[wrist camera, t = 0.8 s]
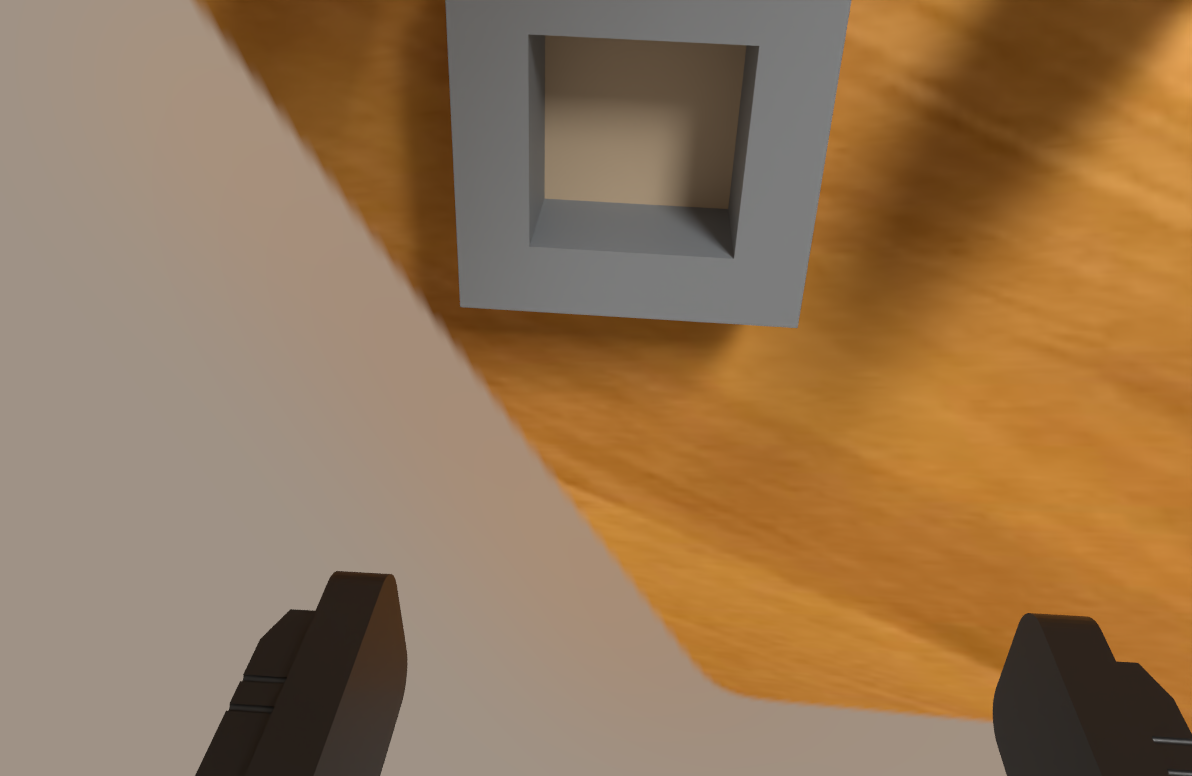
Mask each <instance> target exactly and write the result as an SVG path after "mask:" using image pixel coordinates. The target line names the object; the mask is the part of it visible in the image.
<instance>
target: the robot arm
mask: <svg viewBox="0 0 1192 776" xmlns="http://www.w3.org/2000/svg"><path fill="white" fill-rule="evenodd" d="M243 675H244V678H243V681H242V682H241V681H240V683H239V685H238V687H237V689H236V691H235V693H234V696H233V697H232V700H231V702H230V708H229V711H226V712H225V715H224V717H223V719H222V721H221V723H220V725H219V727H218V729H217V731H216V733H215V735H214V737H213V739H212V742H211V744H210V746H209V748H208V750H207V752H206V754H205V756H204V758H203V761H202V763H201V765H200V767H199V769H198V771H197V773H196V775H195V776H380V774H381V771H382V767H383V764H384V761H385V757H386V754H387V751H388V747H389V744H390V741H391V737H392V734H393V731H394V727H395V724H396V720H397V717H398V714H399V710H400V707H401V704H402V700H403V696H404V690H405V685H406V676H407V650H406V643H405V636H404V630H403V623H402V617H401V610H400V604H399V597H398V591H397V584H396V580H395V578H394V576H393V575H392V574H378V573H361V572H359V573H358V572H343V571H336V572H334V573H333V575H332V576H331V577H330V579H329V581H328V583H327V585H326V588H325V590H324V593H323V595H322V597H321V600H320V602H319V604H318V606H317V609H316V611H308V610H292V609H291V610H290V611H289V612H287V614H285V615H284V616H283V617H282V618H281V619H280V620H279V621H278V622H277V623H276V624H275V625H274V626H273V627H272V628H271V629H270V630H269V631H268V632H267V633H266V634H265V635H264V636H263V637H262V638H261V639H260V641H259V643H258V645H257V647H256V650H255V651H254V653H253V656H252V658H251V660H250V662H249V664H248V666H247V668H246V670H245V672H244V674H243ZM993 724H994V732H995V738H996V742H997V745H998V748H999V752H1000V755H1001V758H1002V761H1003V764H1004V767H1005V771H1006V774H1007V776H1192V734H1191V732H1190V730H1189V728H1188V726H1187V724H1186V722H1185V720H1184V718H1183V716H1182V714H1181V712H1180V710H1179V708H1178V706H1177V705H1176V703H1175V701H1174V699H1173V698H1172V697H1171V696H1170V695H1169V694H1168V693H1167V692H1166V691H1165V690H1164V689H1163V688H1162V687H1161V686H1160V685H1159V684H1158V683H1157V682H1156V681H1155V680H1154V679H1153V678H1152V677H1151V676H1150V675H1149V674H1148V673H1147V671H1146V670H1145V669H1144V668H1143V667H1142V666H1141V665H1140V664H1139V663H1130V662H1116V660H1115V658H1114V656H1113V654H1112V652H1111V650H1110V648H1109V646H1108V644H1107V641H1106V639H1105V637H1104V635H1103V633H1102V631H1101V629H1100V627H1099V625H1098V624H1097V623H1096V621H1095V620H1093V619H1092V618H1090V617H1085V616H1068V615H1050V614H1033V613H1027V614H1025V615H1024V616H1023V617H1022V618H1021V620H1020V622H1019V625H1018V628H1017V630H1016V633H1015V636H1014V639H1013V642H1012V645H1011V647H1010V650H1009V653H1008V656H1007V659H1006V662H1005V665H1004V667H1003V670H1002V673H1001V676H1000V679H999V682H998V684H997V687H996V691H995V695H994V701H993Z"/></svg>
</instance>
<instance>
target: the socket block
mask: <svg viewBox="0 0 1192 776" xmlns="http://www.w3.org/2000/svg"><path fill="white" fill-rule="evenodd" d="M445 3H446V23H447V44H448V65H449V85H450V106H451V127H452V147H453V168H454V189H455V209H456V230H457V251H458V271H459V292H460V307H467V308H484V309H500V310H516V311H532V312H548V313H564V314H580V315H596V316H612V317H628V318H644V319H661V320H677V321H693V322H709V323H725V324H741V325H757V326H773V327H789V328H798V322H799V316H800V310H801V304H802V298H803V291H804V285H805V279H806V273H807V267H808V261H809V255H810V249H811V243H812V237H813V231H814V224H815V218H816V212H817V206H818V200H819V194H820V188H821V182H822V176H823V170H824V164H825V157H826V151H827V145H828V139H829V133H830V127H831V121H832V115H833V109H834V103H835V97H836V90H837V84H838V78H839V72H840V66H841V60H842V54H843V48H844V42H845V36H846V30H847V23H848V17H849V11H850V5H851V0H445Z"/></svg>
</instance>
